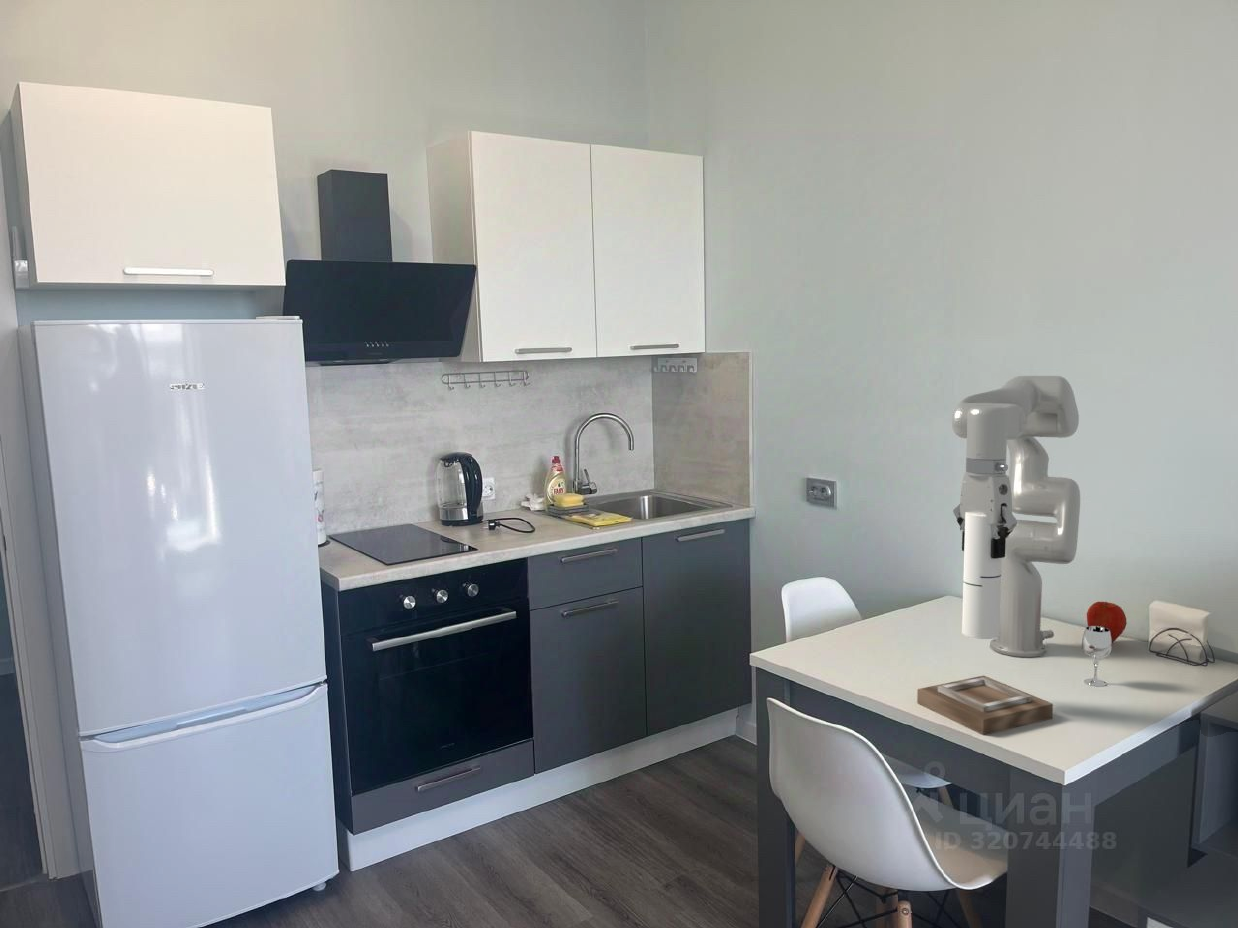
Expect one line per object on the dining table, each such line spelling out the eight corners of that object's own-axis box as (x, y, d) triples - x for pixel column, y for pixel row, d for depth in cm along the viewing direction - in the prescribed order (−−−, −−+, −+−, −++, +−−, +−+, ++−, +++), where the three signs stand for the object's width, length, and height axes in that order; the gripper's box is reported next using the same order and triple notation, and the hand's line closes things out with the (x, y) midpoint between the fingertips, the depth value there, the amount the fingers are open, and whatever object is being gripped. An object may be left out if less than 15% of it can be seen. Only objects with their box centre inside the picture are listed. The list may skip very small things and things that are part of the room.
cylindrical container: (1002, 639, 188) (1006, 516, 185) (964, 637, 189) (968, 516, 187) (995, 629, 195) (999, 511, 192) (959, 628, 196) (962, 510, 193)
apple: (1131, 645, 227) (1133, 602, 226) (1113, 652, 222) (1115, 608, 221) (1097, 637, 234) (1098, 595, 233) (1078, 643, 229) (1080, 600, 228)
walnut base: (983, 688, 201) (983, 670, 200) (1052, 718, 185) (1053, 698, 184) (917, 702, 194) (917, 684, 193) (983, 734, 177) (983, 714, 177)
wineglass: (1098, 689, 199) (1101, 634, 198) (1074, 681, 204) (1076, 627, 203) (1116, 684, 202) (1118, 630, 201) (1091, 676, 207) (1094, 623, 206)
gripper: (1034, 470, 182) (1030, 560, 184) (968, 462, 198) (966, 545, 200) (1004, 473, 179) (1001, 564, 181) (940, 464, 195) (938, 548, 197)
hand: (983, 553), depth 190 cm, fingers closed on cylindrical container, 7 cm apart
